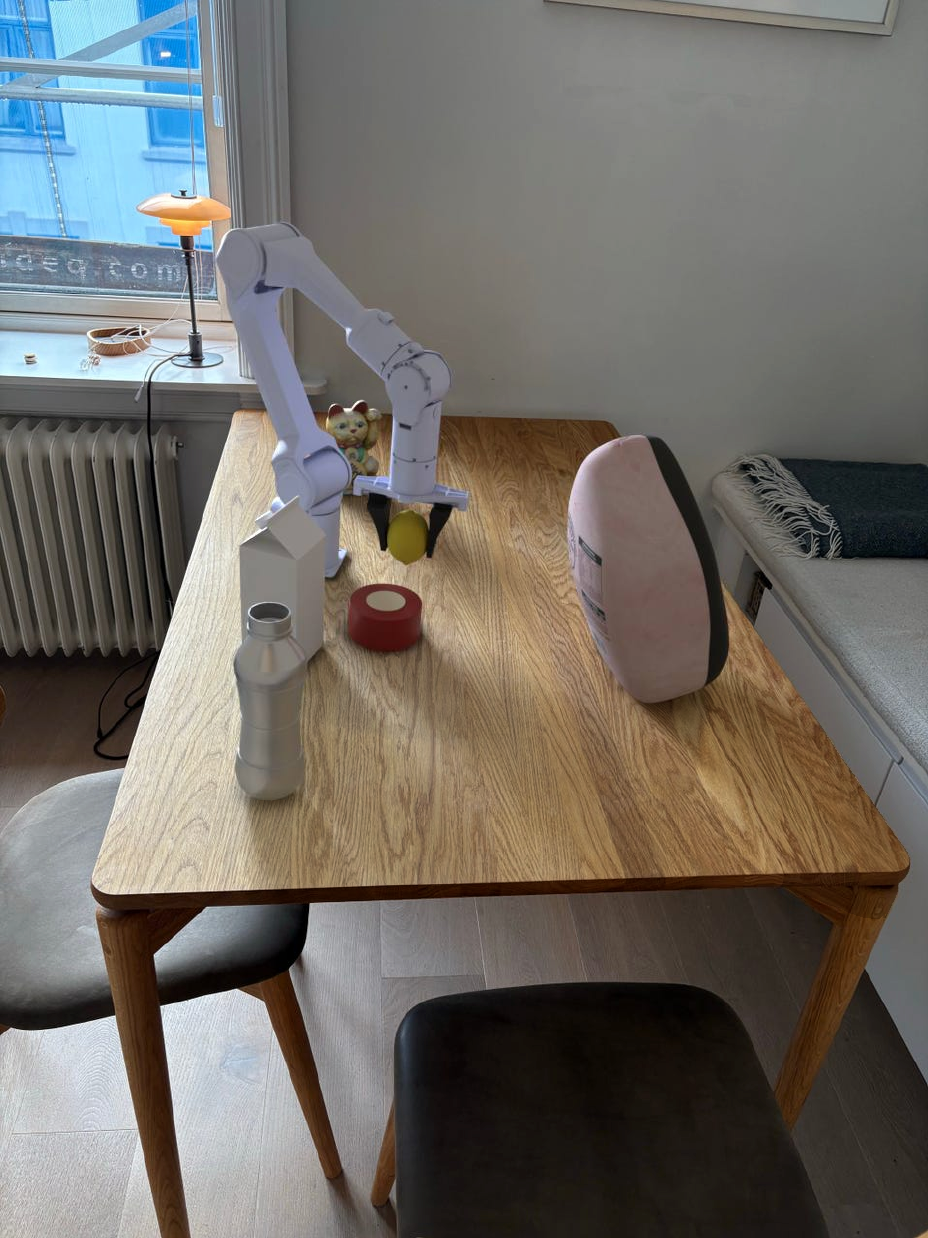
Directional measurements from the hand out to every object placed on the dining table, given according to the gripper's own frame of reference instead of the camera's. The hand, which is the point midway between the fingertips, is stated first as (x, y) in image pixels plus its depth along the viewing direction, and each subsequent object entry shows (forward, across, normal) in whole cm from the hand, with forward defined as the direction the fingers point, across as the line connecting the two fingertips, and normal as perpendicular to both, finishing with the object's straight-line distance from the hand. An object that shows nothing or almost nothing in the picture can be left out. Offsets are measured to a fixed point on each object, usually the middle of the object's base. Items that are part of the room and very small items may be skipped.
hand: (406, 551), depth 124 cm
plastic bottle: (+7, -5, -41) cm, 42 cm away
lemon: (+2, 0, 0) cm, 2 cm away
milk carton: (+7, -11, -18) cm, 22 cm away
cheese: (+7, 0, -10) cm, 12 cm away
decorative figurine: (+7, -16, +32) cm, 36 cm away
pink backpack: (+7, +30, -10) cm, 32 cm away
